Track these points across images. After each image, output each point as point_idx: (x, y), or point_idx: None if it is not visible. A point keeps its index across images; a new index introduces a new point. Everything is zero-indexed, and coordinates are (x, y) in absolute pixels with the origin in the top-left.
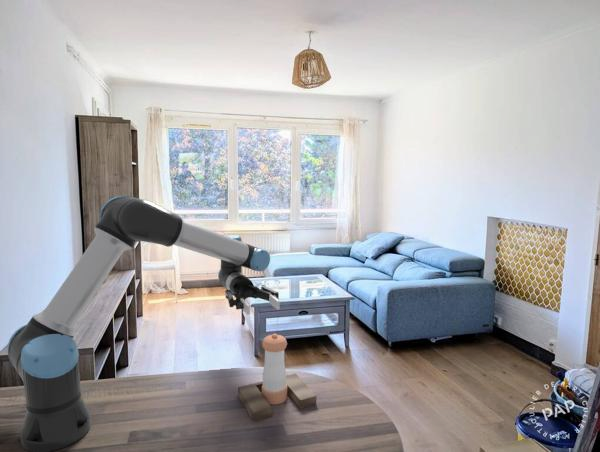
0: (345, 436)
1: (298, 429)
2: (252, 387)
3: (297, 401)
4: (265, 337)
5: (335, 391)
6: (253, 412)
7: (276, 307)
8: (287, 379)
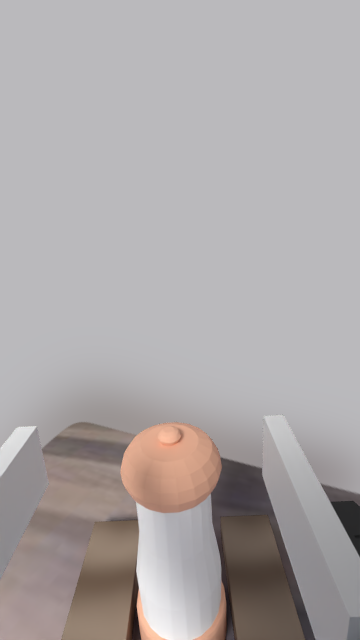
0: (121, 448)
1: None
2: None
3: None
4: (201, 461)
5: (8, 574)
6: (268, 517)
7: (39, 486)
8: None
